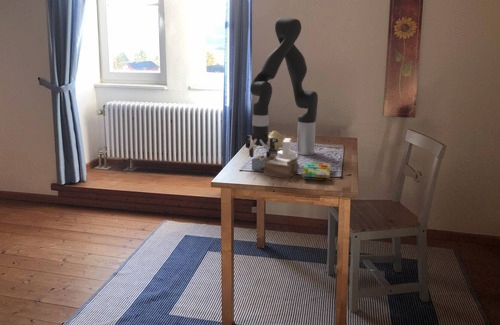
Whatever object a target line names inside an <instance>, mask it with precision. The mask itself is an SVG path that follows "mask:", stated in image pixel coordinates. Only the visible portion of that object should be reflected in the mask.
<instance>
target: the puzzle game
mask: <svg viewBox="0 0 500 325" xmlns="http://www.w3.org/2000/svg"><path fill="white" fill-rule="evenodd" d="M331 164H332V163H331V162H318V161H317V162H315V161H313V162H312V161H305V163H304V166H303V170H302V173H301V177H303V178H304V179H305V180H315V181H317V180H318V181H327V180H328V179H330V176H331Z"/></svg>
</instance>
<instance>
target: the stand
mask: <svg viewBox="0 0 500 325" xmlns="http://www.w3.org/2000/svg"><path fill="white" fill-rule="evenodd" d="M276 154H277V153H275V154H271V156H269V157H267V158H265V163H264V169H263V170H264V171H263V172H264V173H263V174H264V175H266V176H271V177H277V178H283V179H284V178H285V179H290V178H292V177H293V176H295V175H297V174H298V168H299V166H298V164H299V163H298V162H299V161H298V157H297V156H296V157H295V158H293V159H291V160H289V159H282V158H277V156H276Z"/></svg>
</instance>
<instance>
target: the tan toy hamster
mask: <svg viewBox="0 0 500 325" xmlns="http://www.w3.org/2000/svg"><path fill="white" fill-rule="evenodd" d="M268 137H269V138H274V140H275V150H274V151H276V152H278V151H279V149H280V148H281V147H282V146H283V141H284V139H283V137H282V135H281V134H280V133H279V132H278V131H276V130H272V131H271V132H270V133H268ZM268 144H269V147H270V142H269V140H268ZM265 145H266V144H265Z"/></svg>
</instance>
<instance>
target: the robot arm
mask: <svg viewBox="0 0 500 325" xmlns="http://www.w3.org/2000/svg"><path fill="white" fill-rule="evenodd" d="M274 29H275V30H274V31H275V34H276V38H277V40H278V42H279V45H278V47H276V48H275V49H274V50H273V51H272V52H270V54H269V55H268V56H266V59H265V61H264V64H263V66H262V68H261V70H260V71H259V72H258V74H256V76H255V77H254V79H253V80H252V82H251V84H250V87H249V88H250V93H251V94H252V95H253V96H256V97H258V100H257V101H255V102H253V106H252V121H251V122H252V127H251V128H252V130H251V131H252V135H251V134H248V135H246V136H245V148H247V149H248V152H249V155H248V156H249V157H250V158H253V157H254V156H255V154H254V152H255V149H254V148H255V147H259V146H260V147H263V148H264V150H265V151H266V156H265V157H266V158H267V157H269V156H271V155H272V152H273V151H276V150H275V140H274V138H269V137H268V135H269V124H270V123H269V122H270V121H269V105H270V102H271V97H272V95H273V87H272V84H271V82H269V81H270V80H271V81H272V80H273V79H275V78H276V75H277V73H278V71H279V69H280V66H281V65H282V63H283V61H284V60H285V63H286V64H285V65H286V68H287V71H288V75H289V79H290V81H291V86H292V89H293V95H294V101H295V104H296V106H297V108H300V109H307V111H306V113H303V114H300V115H298V117H297V139H296V140H297V142H296V154H298V155H302V156H310V155H311V156H312V155H314V154H315V145H316V144H315V141H316V140H315V139H316V120H317V112H318V111H317V110H318V103H319V97H318V93H317V92H316V91H313V90H312V91H311V90H304V89H303V81H304V79H305V77H306V75H307V73H308V72H307V71H308V67H307V63H306V59H305V56H304V55H303V53H302V52H301V51H300V50H299V49H298V47H297V46H296V45H295V42H296V41H297V40H298V38H299V36H300V34H301V31H302V24H301V21H300V20H299V19H298V18H292V17H278V19H276V21H275V23H274ZM251 140H252V143H251ZM268 140H269V142H270V147H269V144H268ZM265 144H266V145H265Z"/></svg>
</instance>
